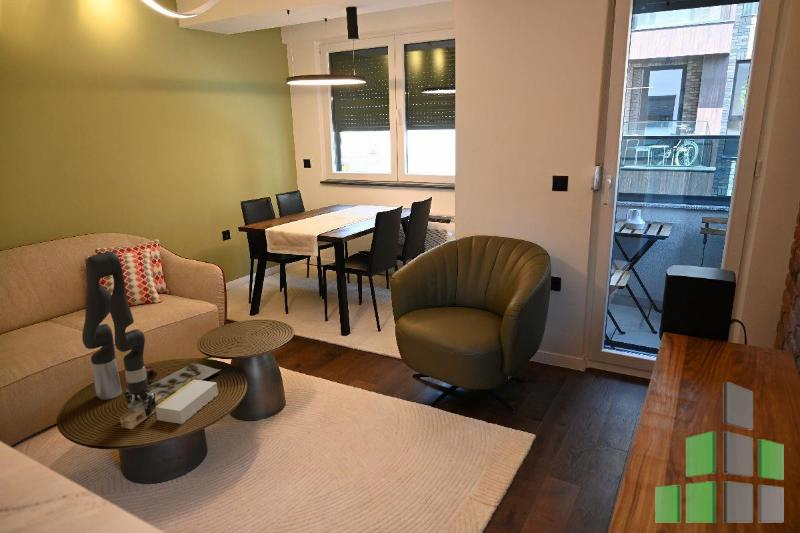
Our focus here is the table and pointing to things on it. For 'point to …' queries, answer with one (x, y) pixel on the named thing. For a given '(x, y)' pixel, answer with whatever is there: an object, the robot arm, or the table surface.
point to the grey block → (136, 406)
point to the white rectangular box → (186, 401)
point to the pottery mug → (150, 373)
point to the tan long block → (137, 415)
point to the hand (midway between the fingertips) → (143, 414)
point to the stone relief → (181, 379)
